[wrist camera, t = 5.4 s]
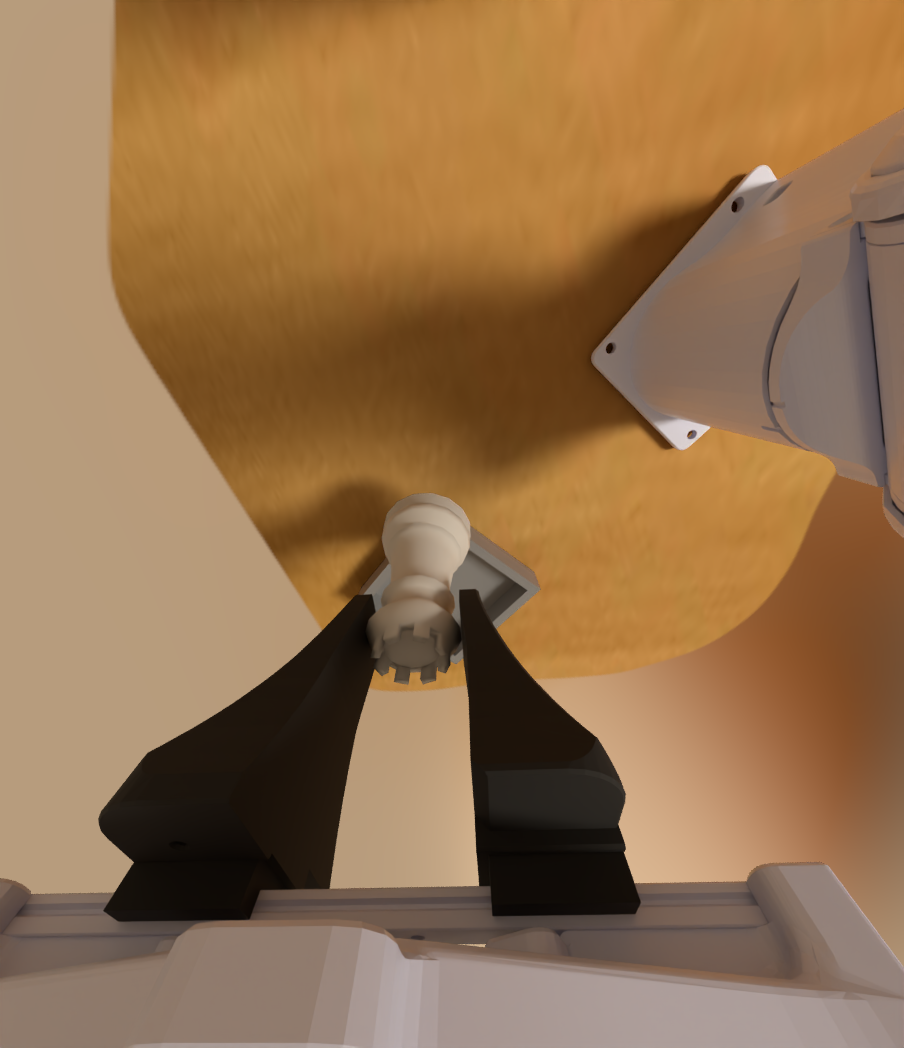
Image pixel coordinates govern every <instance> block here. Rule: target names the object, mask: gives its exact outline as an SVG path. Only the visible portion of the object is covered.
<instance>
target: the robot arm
mask: <svg viewBox="0 0 904 1048" xmlns="http://www.w3.org/2000/svg"><path fill="white" fill-rule="evenodd" d="M733 201H735V202H737V210H736V212H735V213H734V212H732V209H731V206H732V203H733ZM609 343H611V344H612V345H613V350H612V352H611V353H609V354H608V353H607V352H606V346H607V345H608V344H609ZM591 362H592V364H593V365H594V366H595V367H596V368H597V369H598V371H599V372H600V373H601V374H602V375H603V376H604V377H605V378H606V379H607V380H608V381H609V382H610V383H611V384H612V385H613V386H614V387H615V388H616V389H617V390H618V391H619V392H620V393H621V394H622V395H623V396H624V397H625V398H626V399H627V400H628V401H629V402H630V403H631V404H632V405H633V406H634V407H635V408H636V409H637V410H638V412H639V413H640V414H641V415H642V416H643V417H644V418H645V419H646V420H647V421H648V422H649V423H650V424H651V425H652V426H653V427H654V428H655V429H656V430H657V431H658V432H659V433H660V434H661V435H662V436H663V437H664V438H665V439H666V440H667V441H668V442H669V443H670V444H671V445H672V446H673V447H674V448H676V449H678V450H684V449H686V448H688V447H689V446H690V445H692V444H693V443H694V442H695V441H696V440H697V439H698V438H699V437H700V436H702V435H703V434H704V433H705V432H706V431H707V430H708V429H709V428H710V427H714V428H718V429H722V430H726V431H730V432H734V433H738V434H742V435H746V436H750V437H754V438H758V439H762V440H766V441H770V442H774V443H779V444H783V445H787V446H791V447H795V448H799V449H803V450H807V451H812V452H815V453H818V454H821V455H823V456H826V457H827V458H828V459H830V460H831V461H832V462H833V464H834V465H835V467H836V470H837V473H838V475H840V476H844V477H847V478H850V479H853V480H857V481H860V482H864V483H867V484H871V485H874V486H877V487H883V502H882V505H883V510H884V515H885V517H886V518H887V520H888V521H889V523H890V525H891V526H892V527H893V529H894V530H895V531H896V532H898V533H899V534H900V535H901V536H902V537H903V538H904V109H902V110H900V111H898V112H896V113H895V114H893V115H891V116H889V117H888V118H886V119H884V120H882V121H881V122H879V123H877V124H875V125H874V126H872V127H870V128H868V129H867V130H865V131H863V132H861V133H860V134H858V135H856V136H854V137H853V138H851V139H849V140H847V141H846V142H844V143H842V144H840V145H838V146H837V147H835V148H833V149H831V150H830V151H828V152H826V153H824V154H823V155H821V156H819V157H817V158H816V159H814V160H812V161H810V162H809V163H807V164H805V165H803V166H802V167H800V168H798V169H796V170H795V171H793V172H791V173H789V174H787V175H786V176H784V177H782V178H780V179H779V180H777V179H776V177H775V176H774V174H773V172H772V171H771V169H770V168H769V167H768V166H767V165H760V166H758V167H756V168H754V169H753V170H751V171H750V172H749V173H748V174H747V175H746V176H745V177H744V178H743V179H742V181H741V182H740V183H739V184H738V185H737V186H736V187H735V189H734V190H733V191H732V192H731V193H730V194H729V196H728V197H727V198H726V199H725V200H724V201H723V202H722V204H721V205H720V206H719V207H718V208H717V209H716V211H715V212H714V213H713V214H712V215H711V216H710V217H709V219H708V220H707V221H706V222H705V223H704V224H703V226H702V227H701V228H700V229H699V230H698V231H697V232H696V234H695V235H694V236H693V237H692V238H691V239H690V241H689V242H688V243H687V244H686V245H685V246H684V247H683V249H682V250H681V251H680V252H679V253H678V254H677V256H676V257H675V258H674V259H673V260H672V261H671V262H670V264H669V265H668V266H667V267H666V268H665V269H664V271H663V272H662V273H661V274H660V275H659V276H658V277H657V279H656V280H655V281H654V282H653V283H652V284H651V285H650V287H649V288H648V289H647V290H646V291H645V292H644V294H643V295H642V296H641V297H640V298H639V299H638V300H637V302H636V303H635V304H634V305H633V306H632V307H631V309H630V310H629V311H628V312H627V313H626V314H625V315H624V317H623V318H622V319H621V320H620V321H619V322H618V324H617V325H616V326H615V327H614V328H613V329H612V330H611V332H610V333H609V334H608V335H607V336H606V337H605V339H604V340H603V341H602V342H601V343H600V344H599V345H598V347H597V348H596V349H595V350H594V352H593V353H592V356H591ZM691 430H692V435H691V436H690V437H688V438H687V434H688V433H689V431H691ZM459 607H460V621H461V634H462V647H463V659H464V667H465V674H466V682H467V689H468V697H469V719H470V756H471V770H472V771H471V772H472V785H473V798H474V811H475V832H476V853H477V862H478V875H479V886H468V887H467V886H464V887H412V888H411V887H410V888H409V887H408V888H351V889H330V881H331V874H332V867H333V860H334V853H335V846H336V839H337V833H338V827H339V821H340V815H341V809H342V802H343V797H344V791H345V786H346V780H347V775H348V769H349V764H350V759H351V754H352V749H353V744H354V739H355V734H356V730H357V726H358V723H359V719H360V715H361V712H362V709H363V705H364V702H365V699H366V695H367V692H368V689H369V686H370V682H371V679H372V676H373V672H374V668H373V667H374V663H375V659H376V658H370V657H371V653H372V648H371V646H370V645H369V642H368V639H367V635H366V632H365V631H366V628H367V624H368V621H369V619H370V618H371V617H372V616H373V615H374V614H375V613H376V610H375V605H374V600H373V596H372V594H365V595H356V596H355V597H354V598H353V599H352V600H351V601H350V602H349V603H348V604H347V605H346V606H345V607H344V608H343V609H342V610H341V612H340V613H339V614H338V615H337V616H336V617H335V618H334V619H333V620H332V621H331V622H330V623H329V624H328V625H327V626H326V627H325V628H324V629H323V630H322V631H321V632H320V633H319V634H318V635H317V636H316V637H315V638H314V639H313V640H312V641H311V642H310V643H309V644H308V645H307V646H306V647H305V648H304V649H303V650H301V652H299V653H298V654H297V655H296V656H295V657H294V658H293V659H292V660H290V661H289V662H288V663H287V664H285V665H284V666H283V667H282V668H281V669H279V670H278V671H277V672H276V673H274V674H273V675H272V676H270V677H269V678H268V679H267V680H265V681H264V682H262V683H261V684H260V685H258V686H257V687H255V688H254V689H253V690H251V691H250V692H248V693H247V694H246V695H244V696H243V697H241V698H240V699H239V700H237V701H236V702H234V703H233V704H231V705H230V706H228V707H226V708H225V709H223V710H222V711H220V712H219V713H217V714H216V715H214V716H212V717H210V718H209V719H207V720H206V721H204V722H202V723H201V724H199V725H197V726H196V727H194V728H192V729H190V730H189V731H187V732H185V733H183V734H181V735H180V736H178V737H176V738H174V739H173V740H171V741H169V742H167V743H165V744H163V745H162V746H160V747H158V748H156V749H154V750H152V751H150V752H149V753H147V754H146V756H145V757H144V758H143V759H142V760H141V762H140V763H139V764H138V766H137V767H136V768H135V769H134V771H133V772H132V773H131V774H130V776H129V777H128V778H127V780H126V781H125V782H124V783H123V785H122V786H121V787H120V789H119V790H118V791H117V792H116V794H115V795H114V796H113V797H112V798H111V800H110V801H109V802H108V804H107V805H106V806H105V807H104V809H103V810H102V811H101V813H100V816H99V826H100V829H101V831H102V833H103V834H104V835H105V836H106V837H107V838H108V839H109V840H110V841H111V842H112V843H113V844H114V845H116V846H117V847H118V848H119V849H120V850H121V851H122V852H123V853H124V854H126V855H127V856H128V857H129V858H130V859H131V860H132V861H133V862H134V863H133V865H132V866H131V868H130V870H129V871H128V873H127V874H126V876H125V877H124V879H123V880H122V882H121V883H120V885H119V887H118V888H117V890H116V891H115V893H72V894H71V893H69V894H31V891H30V890H29V889H28V888H26V887H25V886H23V885H22V884H20V883H18V882H16V881H12V880H8V879H1V878H0V1048H904V967H903V966H902V964H901V963H900V961H899V960H898V959H897V957H896V956H895V955H894V953H893V952H892V951H891V949H890V948H889V947H888V945H887V944H886V943H885V941H884V940H883V939H882V937H881V936H880V935H879V933H878V932H877V931H876V929H875V928H874V926H873V925H872V924H871V922H870V921H869V920H868V918H867V917H866V916H865V914H864V913H863V912H862V910H861V909H860V908H859V907H858V905H857V904H856V902H855V901H854V900H853V898H852V897H851V896H850V894H849V893H848V892H847V890H846V889H845V888H844V886H843V885H842V884H841V882H840V881H839V880H838V878H837V877H836V876H835V874H834V873H833V872H832V870H831V869H830V868H829V866H828V865H825V864H824V863H822V862H800V863H798V862H797V863H769V864H764V865H760V866H757V867H756V868H754V869H753V870H752V871H751V872H750V873H749V876H748V878H747V881H745V882H695V883H694V882H692V883H691V882H690V883H634V881H633V877H632V875H631V872H630V869H629V866H628V863H627V860H626V857H625V854H624V852H625V850H626V847H625V843H624V840H623V837H622V834H621V831H620V828H619V825H618V823H619V820H620V816H621V813H622V810H623V807H624V804H625V791H624V789H623V785H622V783H621V780H620V778H619V776H618V774H617V772H616V770H615V768H614V766H613V764H612V762H611V760H610V758H609V756H608V755H607V753H606V751H605V750H604V748H603V746H602V745H601V743H600V742H599V740H598V738H597V737H595V736H594V735H593V734H592V733H590V732H589V731H588V730H587V729H586V728H584V727H583V726H582V725H581V724H580V723H579V722H577V721H576V720H575V719H574V718H573V717H572V716H570V715H569V714H568V713H567V712H566V711H565V710H564V709H563V708H562V707H561V706H559V705H558V704H557V703H556V702H555V701H554V700H553V699H552V698H551V697H550V696H549V695H548V694H547V693H546V692H545V691H544V690H543V689H542V687H541V686H540V685H538V683H536V681H535V680H534V679H533V678H532V677H531V676H530V675H529V673H528V672H527V671H526V670H525V669H524V668H523V666H522V665H521V664H520V663H519V661H518V660H517V659H516V658H515V656H514V655H513V654H512V652H511V651H510V649H509V648H508V647H507V645H506V644H505V642H504V641H503V639H502V638H501V636H500V635H499V633H498V631H497V630H496V628H495V626H494V625H493V623H492V621H491V619H490V618H489V616H488V614H487V612H486V610H485V608H484V605H483V603H482V601H481V598H480V595H479V591H478V590H476V589H462V590H459ZM458 944H486V945H485V947H476V946H467V945H458Z"/></svg>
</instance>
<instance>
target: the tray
mask: <svg viewBox="0 0 904 1048" xmlns="http://www.w3.org/2000/svg"><path fill="white" fill-rule="evenodd" d="M470 535H471V537H470V548H469V550H468V552H467V554H466V557H465V559H464V561H463V563H462V564H461V565H460V566H459V567H458V569H457V571H455V572H454V573H453V577H452V582H451V586H450V591H451V593H452V594H453V596H454V601H455V609H454V611H453V613H452V616H453V617H454V619H455V620H456V622H457V623H458V625H459V626H460V627H461V621H460V607H459V590H462V589H476V590H478V591H479V595H480V598H481V601H482V603H483V605H484V608H485V610H486V612H487V614H488V616H489V618H490V619H491V621H492V623H493V625H494V626H495V628H498V627H499V626H500V625H501V624H502V623H503V622H504V621H505V620H507V619H508V618H509V617H510V616H511V615H512V614H513V613H514V612H516V611H517V610H518V609H519V608H520V607H521V606H522V605H523V604H525V603H526V602H527V601H528V600H529V599H530V598H531V597H533V596H534V595H535V594H536V593H537V592H538V591H539V590H540V586H539V584H538V581H537V578H536V576H535V573H534V572H533V571H532V570H531V569H529V568H528V567H526V566H525V565H524V564H522V563H521V562H519V561H518V560H517V559H515V558H514V557H513V556H511V555H510V554H508V553H507V552H506V551H504V550H503V549H501V548H500V547H499V546H497V545H496V544H495V543H493V542H492V541H490V540H489V539H488V538H486V537H485V536H483V535H482V534H481V533H479V532H478V531H477V530H475V529H474V528H472V527H471V526H470ZM390 583H391V565H390V564H389V561H388V558H387V557H386V558H385V560H384V561H383V562H382V563H381V564H380V566H379V567H378V568H377V569H376V571H375V572H374V573H373V574H372V575H371V577H370V578H369V579H368V580H367V581H366V583H365V584H364V585H363V586H362V588H361V589H360V592H359V594H358V595H365V594H372V596H373V600H374V605H375V610H376V612H377V611H378V610H379V609H380V608H382V604H381V597H382V594H383V591H384V589H385V588H386V587H387V586H388V585H389V584H390ZM461 638H462V634H461ZM461 659H463V647H462V641H461V643H460V645H459V646H458V648H457V650H456V652H455V653H454V654H453V655H452V656H451V657H450V661H451V662H453V663H455V664H457V663H458V662H459V661H460V660H461Z"/></svg>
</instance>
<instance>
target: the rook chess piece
mask: <svg viewBox="0 0 904 1048" xmlns="http://www.w3.org/2000/svg"><path fill="white" fill-rule="evenodd" d="M470 537H471V535H470V522H469V520H468V518H467V516H466V514H465V513H464V511H463V509H462V508H461V507H460V506H458V505H457V504H456V503H454V502H453V501H452V500H451V499H449V498H447V497H443V496H440V495H437V494H433V493H423V494H412V495H410V496H408V497H406V498H404V499H402V500H399V501H397V503H396V504H395V505H394V506H393V507H392V508H391V509H390V511H389V512H388V513H387V516H386V520H385V524H384V530H383V534H382V543H383V547H384V552H385V556H386V557H387V558H388V561H389V564H390V565H391V583H390V584H389V585H388V586H387V587H386V588H385V589H384V591H383V594H382V597H381V604H382V608H380V609H379V610H378V611H377V612H376V613H375V614H374V615H373V616H372V617H371V618H370V619H369V621H368V624H367V628H366V631H365V632H366V635H367V639H368V642H369V645H370V646H371V648H372V653H371V657H370V658H376V659H375V663H374V667H373V668H374V669H375V670H376V671H377V672H378V673H379V674H380V675H381V676H383V675H385V674H387V673H388V671H389V666H390V667H392V668H394V669H396V673H395V679H394V682H397V683H402V684H407V685H408V684H409V676H410V672H421V677H420V680H421V681H422V683H423V684H426V683H429V682H432V681H436V671H437V667H438V671H440V672H443V673H446V672H447V670H448V668H449V666H450V657H451V656H452V655H453V654H454V653H455V652H456V650H457V648H458V646H459V645H460V643H461V641H462V638H461V627H460V626H459V625H458V623H457V622H456V620H455V619H454V617H453V616H452V613H453V611H454V609H455V601H454V596H453V594H452V593H451V591H450V586H451V582H452V577H453V573H454V572H455V571H457V569H458V567H459V566H460V565H461V564H462V563H463V561H464V559H465V557H466V554H467V552H468V550H469V548H470Z"/></svg>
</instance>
